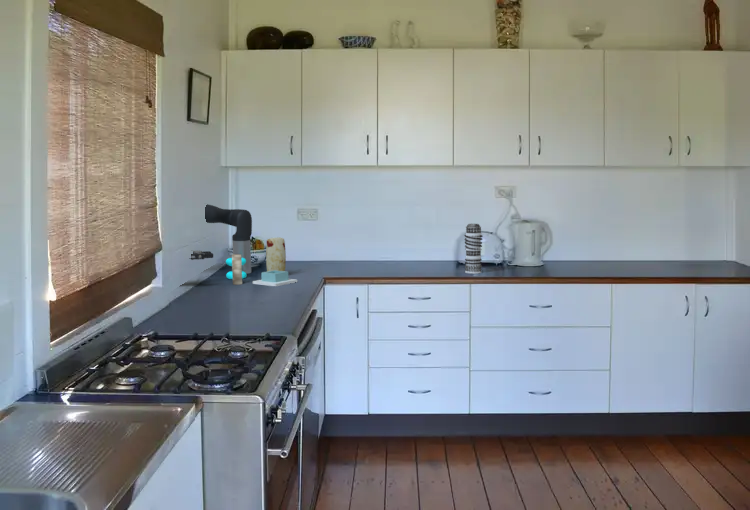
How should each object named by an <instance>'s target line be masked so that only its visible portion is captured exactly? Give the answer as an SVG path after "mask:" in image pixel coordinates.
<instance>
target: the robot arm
mask: <svg viewBox="0 0 750 510" xmlns="http://www.w3.org/2000/svg"><path fill="white" fill-rule="evenodd" d="M206 204H207V205H206V207H205V219H206V222H207V223H206V224H218V223H219V224H224V225H229V226H233V227H235V228H236V229H235V230H236V231H235V233H234V234H233V235H232V236H231V237H232V238H231V241H232V255H233V254H241V258H245V259H246V263H245V264H244V265H242V271H244V272H245V273H246V274H251V273H252V258H251V257H252V252H251V251H252V250H251V248H252V246H251V236H252V231H253V219H252V215H251V214H252V213H251V212H250V211H249V210H247V209H242V208H241V209H239V208H237V209H231V208H229V209H228V208H221V207H218V206H216V205H212V204H208V203H206ZM192 251H193V254H191V258H190V260H191V261H194V260H197V261H198V260H205V259H213V258H214V253H213V252H212V251H209V250H208V251H205V250H204V251H202V250H192Z"/></svg>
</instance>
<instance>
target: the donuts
mask: <svg viewBox="0 0 750 510" xmlns="http://www.w3.org/2000/svg"><path fill="white" fill-rule="evenodd" d="M241 260H242V265H244V264H245V263H246V259H245V258H241ZM225 264H226V265H227V266H230V267H232V257H228V258H226V260H225ZM225 276H226V279H229V280H233V275H232V270H231V271H228V272H227V273H226V274H225ZM245 278H247V274H246V273H245V272H244V271H242V280H243V279H245Z"/></svg>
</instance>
